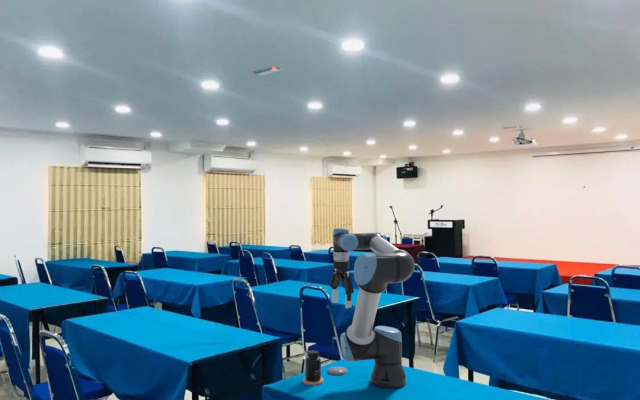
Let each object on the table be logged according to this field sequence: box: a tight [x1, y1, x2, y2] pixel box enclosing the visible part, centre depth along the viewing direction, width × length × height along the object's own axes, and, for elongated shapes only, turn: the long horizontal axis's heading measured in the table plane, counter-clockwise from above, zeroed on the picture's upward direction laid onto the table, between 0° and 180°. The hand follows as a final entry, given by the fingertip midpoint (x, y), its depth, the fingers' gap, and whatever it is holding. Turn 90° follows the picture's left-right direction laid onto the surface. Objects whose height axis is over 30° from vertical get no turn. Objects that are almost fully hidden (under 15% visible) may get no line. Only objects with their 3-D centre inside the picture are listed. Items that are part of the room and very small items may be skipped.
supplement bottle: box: [304, 349, 322, 382], centre depth 212 cm, size 7×7×12 cm
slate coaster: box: [327, 366, 348, 376], centre depth 224 cm, size 9×9×1 cm
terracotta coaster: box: [302, 376, 324, 386], centre depth 212 cm, size 9×9×1 cm
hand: (341, 305), depth 233 cm, fingers open, 13 cm apart
